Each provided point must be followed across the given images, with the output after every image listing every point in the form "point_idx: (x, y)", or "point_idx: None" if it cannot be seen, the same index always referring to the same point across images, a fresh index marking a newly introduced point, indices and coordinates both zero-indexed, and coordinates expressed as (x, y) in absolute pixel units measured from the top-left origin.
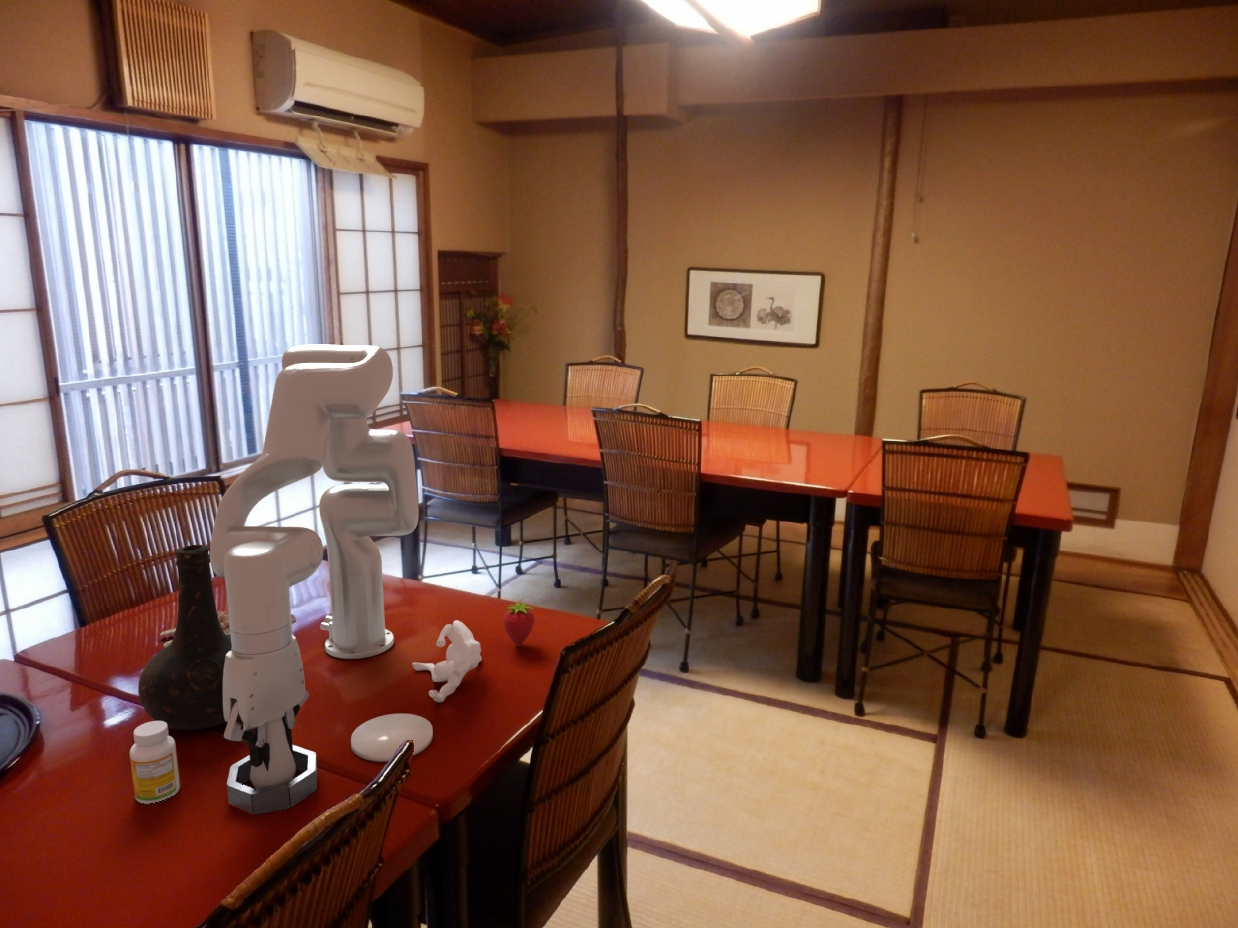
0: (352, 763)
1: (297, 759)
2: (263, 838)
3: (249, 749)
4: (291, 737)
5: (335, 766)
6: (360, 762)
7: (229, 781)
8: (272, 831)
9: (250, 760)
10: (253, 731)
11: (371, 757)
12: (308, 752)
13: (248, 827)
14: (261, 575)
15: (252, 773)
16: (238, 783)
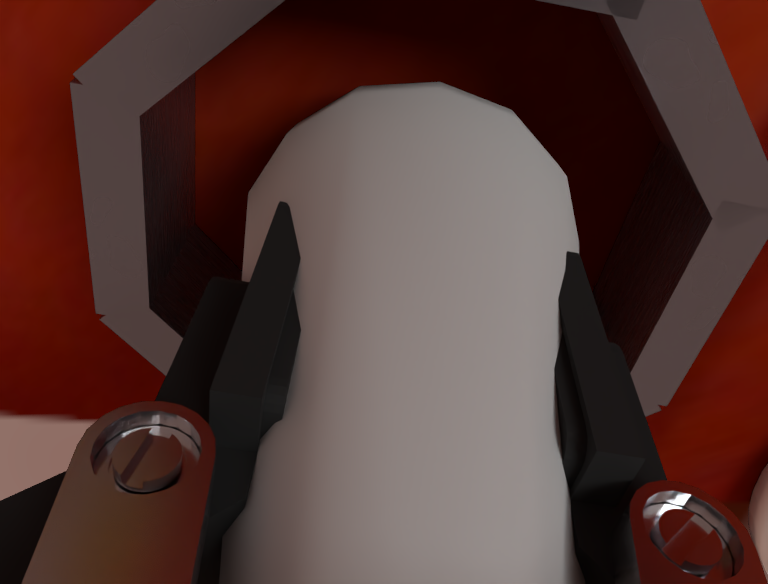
0: (729, 423)
1: (651, 254)
2: (55, 372)
3: (169, 378)
4: None
5: (694, 368)
6: (740, 448)
7: (114, 63)
8: (111, 378)
9: (204, 295)
10: (200, 557)
11: (764, 497)
12: (662, 370)
13: (65, 271)
14: None
15: (259, 205)
16: (135, 156)
